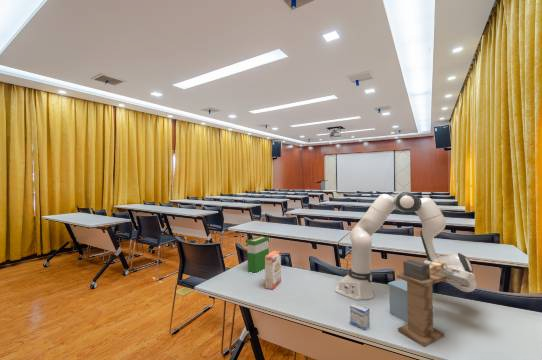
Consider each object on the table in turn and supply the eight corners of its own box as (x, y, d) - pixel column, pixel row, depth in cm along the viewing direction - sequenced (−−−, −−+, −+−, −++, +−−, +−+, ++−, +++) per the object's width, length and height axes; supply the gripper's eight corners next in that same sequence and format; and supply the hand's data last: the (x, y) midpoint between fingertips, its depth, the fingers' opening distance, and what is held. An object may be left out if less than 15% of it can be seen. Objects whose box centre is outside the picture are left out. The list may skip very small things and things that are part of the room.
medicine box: (349, 323, 122) (349, 305, 122) (354, 319, 125) (353, 302, 125) (365, 330, 116) (365, 311, 116) (370, 326, 119) (369, 308, 119)
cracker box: (273, 290, 160) (272, 257, 160) (264, 288, 163) (264, 256, 162) (281, 281, 173) (281, 251, 173) (273, 280, 175) (273, 250, 175)
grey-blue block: (409, 304, 138) (409, 276, 138) (430, 314, 128) (429, 283, 128) (388, 312, 130) (387, 282, 130) (408, 323, 120) (407, 291, 120)
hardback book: (261, 265, 206) (260, 235, 206) (269, 266, 202) (268, 236, 202) (247, 272, 192) (247, 240, 191) (255, 274, 188) (254, 241, 187)
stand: (421, 320, 122) (420, 267, 122) (448, 334, 112) (446, 275, 112) (397, 331, 115) (396, 274, 115) (424, 346, 104) (422, 283, 104)
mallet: (434, 265, 124) (434, 253, 124) (452, 270, 117) (452, 257, 117) (403, 274, 114) (403, 261, 114) (421, 281, 107) (420, 266, 106)
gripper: (433, 262, 134) (418, 253, 129) (479, 275, 116) (464, 265, 110) (429, 274, 133) (415, 265, 127) (475, 289, 115) (460, 279, 109)
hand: (438, 265), depth 119 cm, fingers closed on mallet, 3 cm apart
